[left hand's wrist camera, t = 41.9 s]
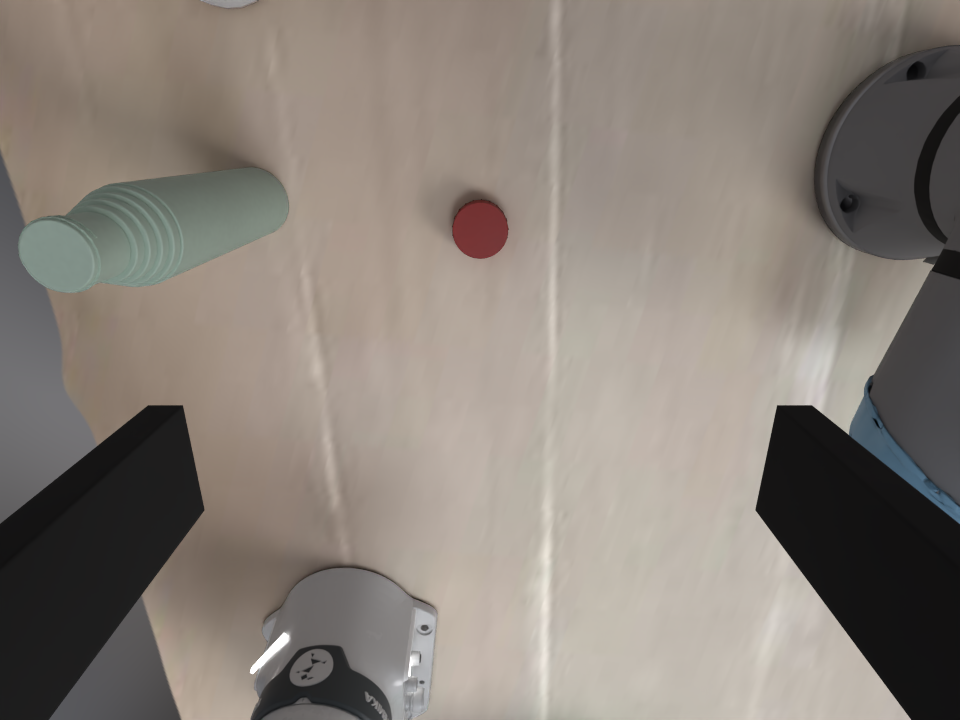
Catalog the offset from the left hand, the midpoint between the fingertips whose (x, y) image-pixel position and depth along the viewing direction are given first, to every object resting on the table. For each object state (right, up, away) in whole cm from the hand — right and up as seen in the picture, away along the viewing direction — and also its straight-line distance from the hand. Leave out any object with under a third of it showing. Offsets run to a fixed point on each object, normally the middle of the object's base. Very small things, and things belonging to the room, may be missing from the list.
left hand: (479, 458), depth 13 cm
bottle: (-18, +15, +33) cm, 41 cm away
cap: (0, +13, +32) cm, 35 cm away
